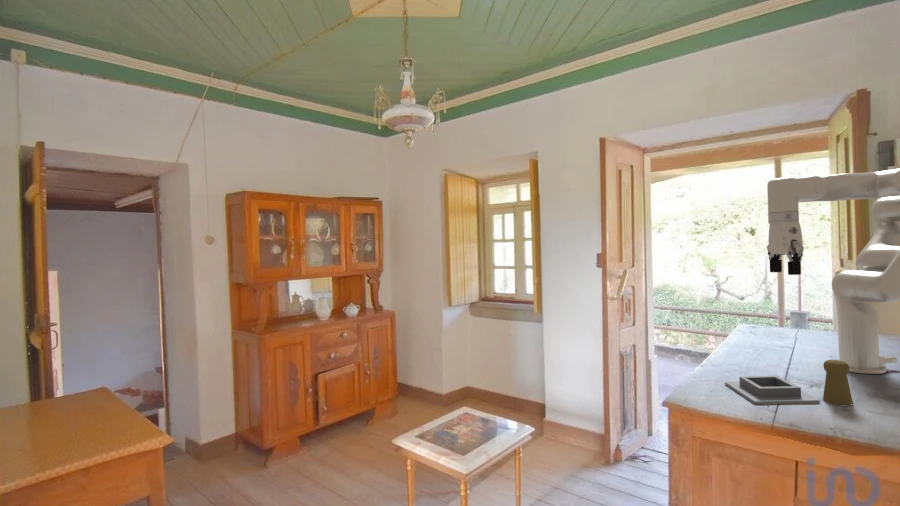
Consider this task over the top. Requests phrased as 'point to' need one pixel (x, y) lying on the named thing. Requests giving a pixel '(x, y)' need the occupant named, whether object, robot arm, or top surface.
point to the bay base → (770, 390)
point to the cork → (837, 383)
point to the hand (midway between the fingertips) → (784, 273)
